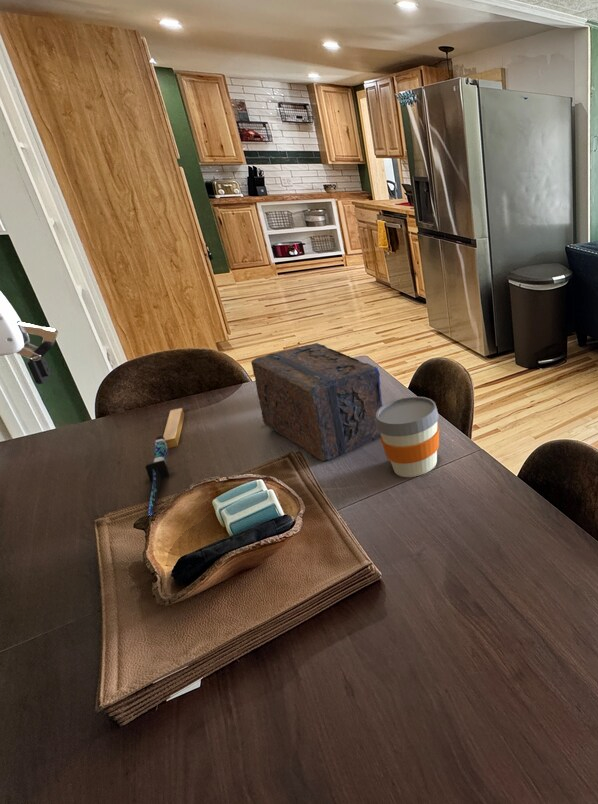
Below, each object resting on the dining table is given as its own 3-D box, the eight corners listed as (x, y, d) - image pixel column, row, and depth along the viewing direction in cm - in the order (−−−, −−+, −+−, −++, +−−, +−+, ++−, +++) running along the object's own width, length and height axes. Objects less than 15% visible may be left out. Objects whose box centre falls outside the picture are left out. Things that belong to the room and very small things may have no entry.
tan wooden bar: (164, 449, 112) (161, 441, 111) (173, 417, 126) (170, 410, 125) (177, 445, 114) (174, 438, 113) (184, 414, 127) (182, 407, 126)
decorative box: (328, 405, 135) (250, 430, 118) (321, 337, 129) (238, 354, 112) (400, 436, 121) (323, 470, 104) (396, 362, 115) (314, 385, 98)
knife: (161, 450, 109) (153, 435, 107) (178, 446, 111) (171, 431, 109) (136, 546, 87) (126, 529, 85) (157, 539, 88) (148, 522, 86)
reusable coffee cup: (396, 493, 98) (384, 431, 93) (378, 465, 107) (366, 407, 102) (454, 470, 106) (446, 411, 100) (432, 445, 115) (424, 390, 109)
